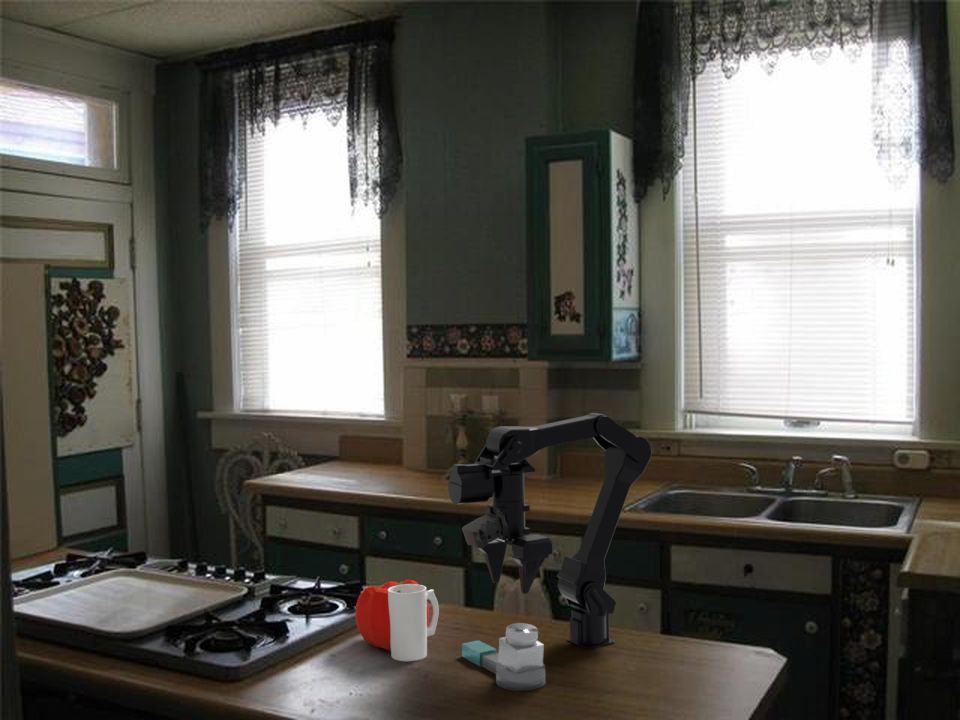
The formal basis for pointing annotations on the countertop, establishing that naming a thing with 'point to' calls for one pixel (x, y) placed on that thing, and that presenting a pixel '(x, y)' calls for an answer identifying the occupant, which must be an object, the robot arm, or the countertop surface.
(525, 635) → the cylinder with square end
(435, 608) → the mug
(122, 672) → the countertop surface
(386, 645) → the tomato
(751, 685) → the countertop surface
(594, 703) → the countertop surface
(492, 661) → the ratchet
